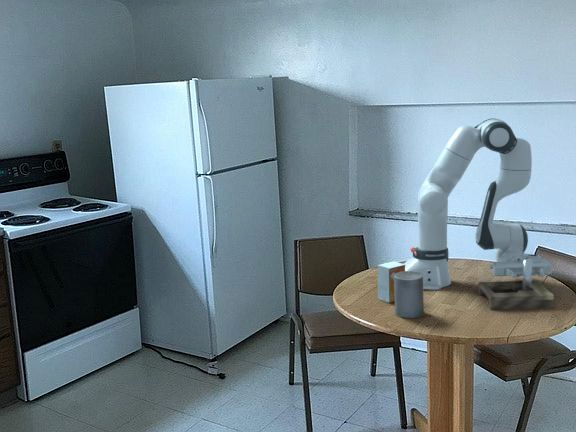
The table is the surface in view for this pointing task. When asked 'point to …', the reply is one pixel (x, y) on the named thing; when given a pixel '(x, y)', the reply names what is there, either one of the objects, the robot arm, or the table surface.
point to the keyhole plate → (516, 295)
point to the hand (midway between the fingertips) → (528, 274)
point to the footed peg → (527, 274)
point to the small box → (388, 280)
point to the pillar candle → (408, 294)
